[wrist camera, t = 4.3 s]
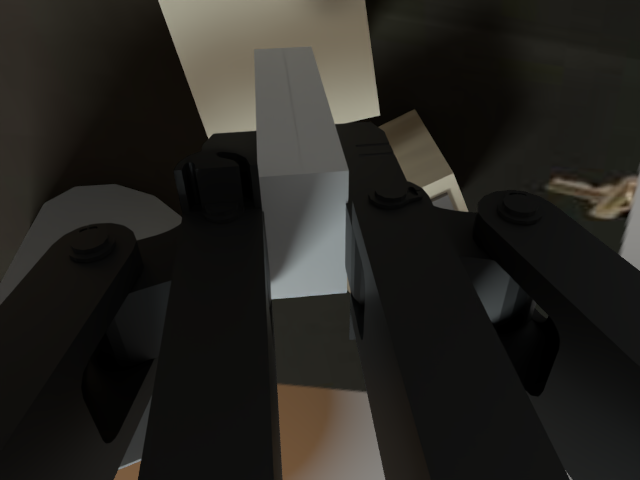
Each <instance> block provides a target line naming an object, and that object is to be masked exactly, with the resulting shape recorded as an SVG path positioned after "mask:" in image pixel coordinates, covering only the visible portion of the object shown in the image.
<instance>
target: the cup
mask: <svg viewBox="0 0 640 480" xmlns="http://www.w3.org/2000/svg"><path fill="white" fill-rule="evenodd" d="M181 221H182V217H181V216H180V215H179V214H177V213H176V212H175V211H173V210H172V209H171V208H170V207H168V206H167V205H166V204H164V203H163V202H162V201H161V200H159V199H158V198H157V197H155V196H154V195H150V194H147V193H144V192H140V191H137V190H134V189H130V188H127V187H124V186H120V185H117V184H107V185H92V186H76V187H73V188H72V189H70V190H68V191H66V192H64V193H62V194H60V195H59V196H57V197H55V198H53V199H51V200H49V201H47V202H45V203H44V204H43V206H42V208H41V210H40V211H39V213H38V215H37V217H36V219H35V220H34V222H33V224H32V226H31V227H30V229H29V231H28V233H27V235H26V237H25V239H24V240H23V242H22V244H21V246H20V248H19V250H18V252H17V253H16V255H15V257H14V259H13V261H12V263H11V265H10V267H9V268H8V270H7V272H6V274H5V276H4V278H3V280H2V282H1V283H0V305H1V303H2V302H3V301H4V300H5V299H6V298H7V297H8V295H9V294H10V293H11V292H12V291H13V290H14V288H15V287H16V286H17V285H18V284H19V283H20V281H21V280H22V279H23V278H24V277H25V276H26V274H27V273H28V272H29V271H30V270H31V269H32V268H33V266H34V265H35V264H36V263H37V262H38V261H39V259H40V258H41V257H42V256H43V255H44V254H45V252H46V251H47V250H48V249H49V248H50V247H51V246H52V244H54V243H55V242H56V241H57V240H58V239H60V238H61V237H62V236H63V235H65V234H67V233H69V232H71V231H73V230H75V229H77V228H79V227H83V226H88V225H90V224H96V223H115V224H120V225H124V226H126V227H127V228H129V229H130V230H132V231H133V232H134V235H135V237H136V240H140V239H144V238H148V237H151V236H155V235H158V234H161V233H164V232H166V231H169V230H171V229H173V228H175V227H176V226H178V225H180V224H181ZM151 399H152V396H151V398H150V401H149V403H148V405H147V407H146V409H145V412H144V414H143V416H142V418H141V420H140V423H139V425H138V427H137V429H136V431H135V434H134V436H133V438H132V440H131V442H130V445H129V447H128V449H127V451H126V453H125V456H124V458H123V460H122V462H121V464H120V467H119V469H121V468H124V467H126V466H129V465H131V464H134V463H136V462H139V461H141V458H142V453H143V447H144V441H145V435H146V429H147V423H148V417H149V411H150V405H151ZM119 469H118V470H119Z"/></svg>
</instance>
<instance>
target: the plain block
mask: <svg viewBox="0 0 640 480" xmlns="http://www.w3.org/2000/svg"><path fill="white" fill-rule="evenodd" d="M158 1H159V4H160V6H161V9H162V12H163V15H164V18H165V20H166V23H167V26H168V29H169V31H170V34H171V37H172V40H173V42H174V45H175V48H176V51H177V53H178V56H179V59H180V62H181V65H182V67H183V70H184V73H185V76H186V78H187V81H188V84H189V87H190V89H191V92H192V95H193V98H194V100H195V103H196V106H197V109H198V111H199V114H200V117H201V120H202V123H203V125H204V128H205V131H206V134H207V136H208V139H209V138H210V137H211V136H212V135H213V134H214V133H229V132H245V131H256V99H255V64H254V49H272V48H290V47H309V46H311V47H312V50H313V53H314V57H315V60H316V63H317V67H318V70H319V73H320V77H321V80H322V83H323V87H324V90H325V93H326V97H327V100H328V103H329V107H330V110H331V113H332V117H333V120H334V123H335V124H343V123H349V122H353V121H358V120H362V119H367V118H371V117H375V116H380V110H379V103H378V95H377V88H376V80H375V73H374V65H373V58H372V50H371V43H370V35H369V27H368V20H367V12H366V5H365V0H158Z"/></svg>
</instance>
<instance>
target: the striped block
mask: <svg viewBox="0 0 640 480" xmlns="http://www.w3.org/2000/svg"><path fill="white" fill-rule="evenodd" d="M379 128H380V129H382V130H383V131H384V132H385V134H386V136H387V139H388V141H389V145H391V147H392V149H393V152H394V154H395V156H396V158H397V160H398V162H399V165H400V167H401V169H402V171H403V173H404V175H405V178H406V180H407V181H409V182H412V183H414V184H416V185H418V186H420V187H421V188H423V190H424V191H425V192H426V193H427V194H428V195H429V197H430V199H431V201H432V203H433V205H434V206H436V207H439V208H444V209H449V210H456V211H464V212H468V210H467V207H466V204H465V202H464V199H463V197H462V194H461V191H460V189H459V186H458V184H457V181H456V178H455V176H454V173H453V171H452V170H451V168H450V167H449V165H448V163H447V162H446V160H445V158H444V157H443V155H442V153H441V152H440V150H439V148H438V147H437V145H436V143H435V142H434V140H433V138H432V137H431V135H430V133H429V132H428V130H427V128H426V127H425V125H424V123H423V122H422V120H421V119H420V117H419V115H418V114H417V112H416V110H415V109H414V110H412V111H410V112H408V113H406V114H404V115H402V116H400V117H398V118H396V119H393V120H391V121H389V122H387V123H385V124H383V125H381V126H379ZM347 289H348V291H349V292H350V286H349V282H348V277H347Z"/></svg>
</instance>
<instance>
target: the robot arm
mask: <svg viewBox="0 0 640 480" xmlns="http://www.w3.org/2000/svg"><path fill="white" fill-rule="evenodd" d="M254 64H255V99H256V131H245V132H229V133H214V134H213V135H212V136H211V137H210V138H209V139H208V140H207V141H206V142H205V143H204V144H203V145H202V151H200V152H197V153H195V154H192V155H189V156H187V157H186V158H184V159H183V160H181V161H180V162H179V163H178V164H177V166H176V167H175V169H174V176H175V180H176V185H177V190H178V195H179V199H180V204H181V209H182V214H183V215H182V221H181V224H180V225H178V226H176V227H175V228H173V229H171V230H169V231H166V232H164V233H161V234H158V235H155V236H151V237H148V238H144V239H140V240H136V237H135V235H134V232H133V231H132V230H130V229H129V228H127V227H126V226H124V225H120V224H115V223H96V224H90V225H88V226H83V227H79V228H77V229H75V230H73V231H71V232H69V233H67V234H65V235H63V236H62V237H61V238H60V239H58V240H57V241H56V242H55V243H54V244H52V246H51V247H50V248H49V249H48V250H47V251H46V252H45V254H44V255H43V256H42V257H41V258H40V259H39V261H38V262H37V263H36V264H35V265H34V266H33V268H32V269H31V270H30V271H29V272H28V273H27V274H26V276H25V277H24V278H23V279H22V280H21V281H20V283H19V284H18V285H17V286H16V287H15V288H14V290H13V291H12V292H11V293H10V294H9V295H8V297H7V298H6V299H5V300H4V301H3V302H2V303H1V305H0V480H113V479H114V478H115V475H116V473H117V471H118V469H119V467H120V464H121V462H122V460H123V458H124V456H125V453H126V451H127V449H128V447H129V445H130V442H131V440H132V438H133V436H134V434H135V431H136V429H137V427H138V425H139V423H140V420H141V418H142V416H143V414H144V412H145V409H146V407H147V405H148V403H149V401H150V398H151V396H152V399H151V405H150V411H149V417H148V423H147V429H146V435H145V441H144V447H143V453H142V458H141V464H140V471H139V476H138V480H282V465H281V447H280V430H279V411H278V395H277V394H278V393H277V376H276V358H275V340H274V322H273V311H272V301H271V299H280V298H291V297H303V296H314V295H326V294H337V293H347V277H348V282H349V286H350V338H349V340H353V339H355V337H356V342H357V347H358V352H359V356H360V361H361V366H362V371H363V375H364V380H365V385H366V390H367V394H368V399H369V403H370V408H371V413H372V418H373V423H374V428H375V432H376V437H377V442H378V447H379V451H380V456H381V460H382V465H383V470H384V475H385V480H570V479H569V477H568V475H567V473H568V474H569V475H570V477H571V478H572V479H573V480H640V271H639V270H638V269H637V268H635V267H634V266H633V265H631V264H630V263H629V262H627V261H626V260H625V259H624V258H622V257H621V256H620V255H618V254H617V253H616V252H615V251H613V250H612V249H611V248H609V247H608V246H607V245H605V244H604V243H603V242H602V241H600V240H599V239H598V238H596V237H595V236H594V235H592V234H591V233H590V232H589V231H587V230H586V229H585V228H583V227H582V226H581V225H579V224H578V223H577V222H576V221H574V220H573V219H572V218H570V217H569V216H568V215H567V214H565V213H564V212H563V211H561V210H560V209H559V208H557V207H556V206H555V205H554V204H552V203H550V202H549V201H547V200H545V199H543V198H542V197H540V196H537V195H533V194H530V193H528V192H524V191H516V190H507V191H497V192H493V193H491V194H488V195H486V196H484V197H483V198H482V199H481V200H480V201H479V202H478V206H477V211H476V213H473V212H464V211H456V210H449V209H444V208H439V207H436V206H434V205H433V203H432V201H431V199H430V197H429V195H428V194H427V193H426V192H425V191H424V190H423V188H421V187H420V186H418V185H416V184H414V183H412V182H409V181H407V180H406V178H405V175H404V173H403V171H402V169H401V167H400V165H399V162H398V160H397V158H396V156H395V154H394V152H393V149H392V147H391V145H389V141H388V139H387V136H386V134H385V132H384V131H383V130H382V129H380V128H379V127H377V126H376V125H374V124H373V123H372V122H358V123H343V124H335V123H334V120H333V117H332V113H331V110H330V107H329V103H328V100H327V97H326V93H325V90H324V87H323V83H322V80H321V77H320V73H319V70H318V67H317V63H316V60H315V57H314V53H313V50H312V47H311V46H309V47H290V48H272V49H254ZM536 303H537V304H538V305H539V306H540V307H541V308H542V309H543V310H544V311H545V312H546V313H547V314H548V315H549V316H548V318H547V319H546V318H545V317H544V316H542V315H541V314H540V313H539V312H538V311H537V310H536V309H535V305H536ZM565 470H566V471H565ZM566 472H567V473H566Z"/></svg>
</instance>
